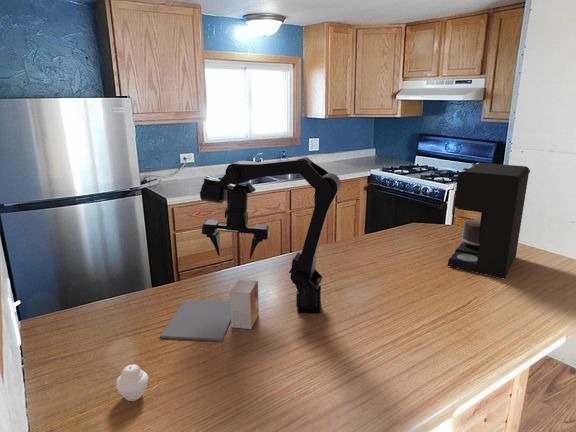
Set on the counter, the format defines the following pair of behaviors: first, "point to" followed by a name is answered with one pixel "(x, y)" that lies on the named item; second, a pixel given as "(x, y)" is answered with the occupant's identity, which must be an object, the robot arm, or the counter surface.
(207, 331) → the mat
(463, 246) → the coffee maker
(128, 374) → the muffin
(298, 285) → the robot arm
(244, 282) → the small box
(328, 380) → the counter surface
